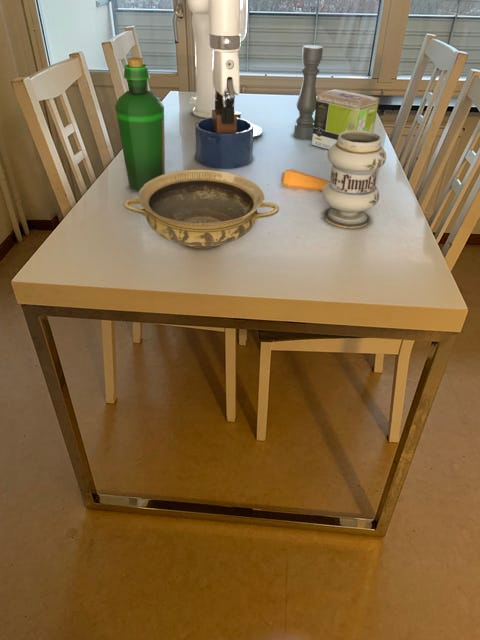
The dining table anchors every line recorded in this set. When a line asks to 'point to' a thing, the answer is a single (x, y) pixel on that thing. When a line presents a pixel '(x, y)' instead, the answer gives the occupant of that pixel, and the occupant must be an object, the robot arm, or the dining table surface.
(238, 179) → the ceramic bowl
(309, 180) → the carrot
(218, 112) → the block
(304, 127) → the candle holder
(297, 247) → the dining table surface
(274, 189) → the dining table surface
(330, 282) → the dining table surface
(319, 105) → the tea box
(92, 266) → the dining table surface
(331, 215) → the apothecary jar
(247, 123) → the pot
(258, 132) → the lid
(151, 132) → the bottle
